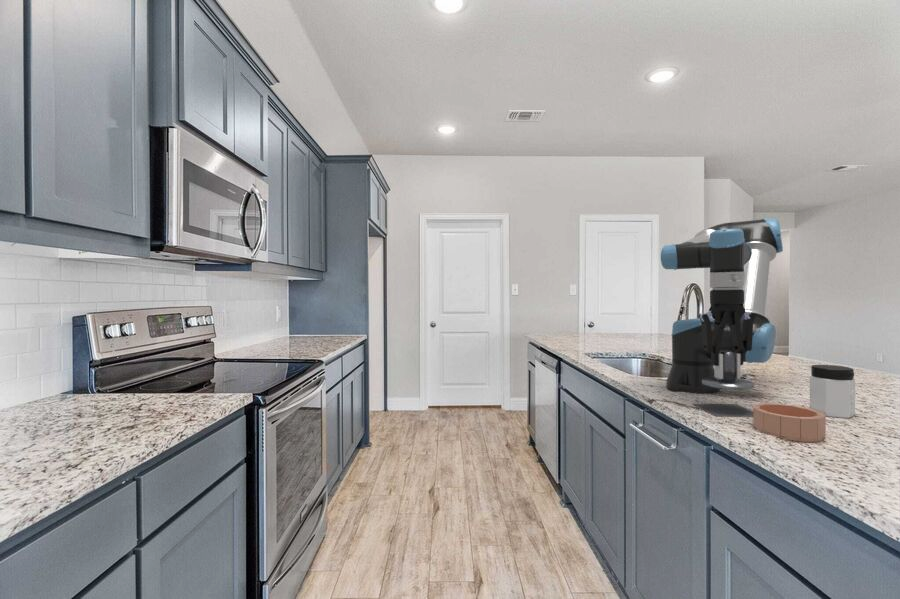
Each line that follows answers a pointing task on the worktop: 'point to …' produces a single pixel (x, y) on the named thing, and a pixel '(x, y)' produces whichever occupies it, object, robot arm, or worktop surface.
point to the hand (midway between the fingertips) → (727, 377)
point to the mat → (725, 410)
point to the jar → (832, 390)
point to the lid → (728, 375)
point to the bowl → (790, 422)
